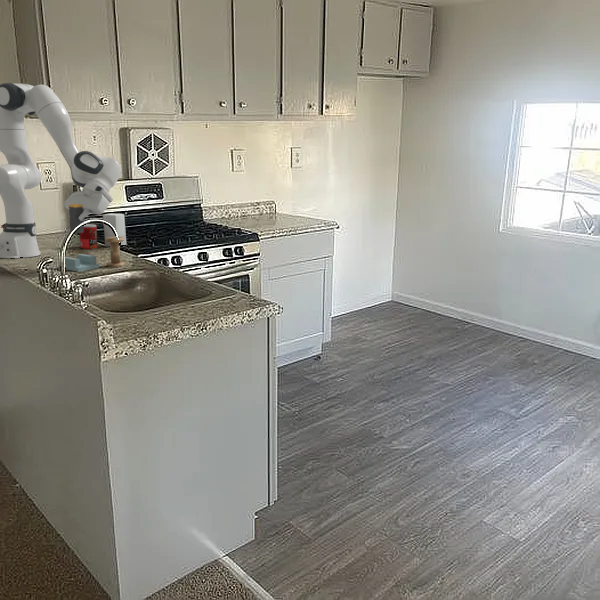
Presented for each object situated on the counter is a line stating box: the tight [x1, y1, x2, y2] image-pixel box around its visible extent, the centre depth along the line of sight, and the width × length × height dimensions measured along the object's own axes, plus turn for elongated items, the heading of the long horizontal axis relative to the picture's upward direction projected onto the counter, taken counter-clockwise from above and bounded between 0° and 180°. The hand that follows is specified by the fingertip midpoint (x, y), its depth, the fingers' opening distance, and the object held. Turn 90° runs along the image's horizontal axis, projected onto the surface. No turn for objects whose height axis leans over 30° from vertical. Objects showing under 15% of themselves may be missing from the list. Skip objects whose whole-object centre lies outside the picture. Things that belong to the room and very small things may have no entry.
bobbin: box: [104, 237, 126, 268], centre depth 249 cm, size 7×7×11 cm
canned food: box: [78, 223, 98, 250], centre depth 289 cm, size 8×8×11 cm
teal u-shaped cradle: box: [57, 253, 100, 273], centre depth 244 cm, size 12×10×4 cm
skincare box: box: [102, 213, 127, 247], centre depth 296 cm, size 8×7×16 cm
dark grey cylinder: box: [68, 204, 84, 234], centre depth 239 cm, size 4×4×11 cm
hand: (74, 218), depth 239 cm, fingers closed on dark grey cylinder, 3 cm apart
